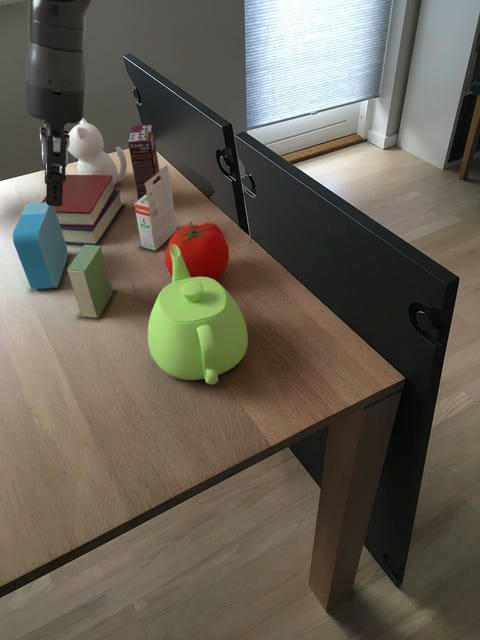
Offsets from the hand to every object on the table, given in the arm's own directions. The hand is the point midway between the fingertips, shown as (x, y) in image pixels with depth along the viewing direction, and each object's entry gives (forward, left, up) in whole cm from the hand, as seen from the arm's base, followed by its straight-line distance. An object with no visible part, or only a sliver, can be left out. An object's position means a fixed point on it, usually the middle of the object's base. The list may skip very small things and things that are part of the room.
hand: (52, 194), depth 82 cm
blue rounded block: (-9, +6, -20) cm, 23 cm away
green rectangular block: (+3, -2, -20) cm, 20 cm away
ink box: (+8, +19, -20) cm, 29 cm away
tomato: (+19, +8, -20) cm, 29 cm away
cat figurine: (-12, +40, -20) cm, 47 cm away
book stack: (-10, +23, -20) cm, 32 cm away
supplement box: (+2, +33, -20) cm, 39 cm away
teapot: (+23, -10, -20) cm, 32 cm away
